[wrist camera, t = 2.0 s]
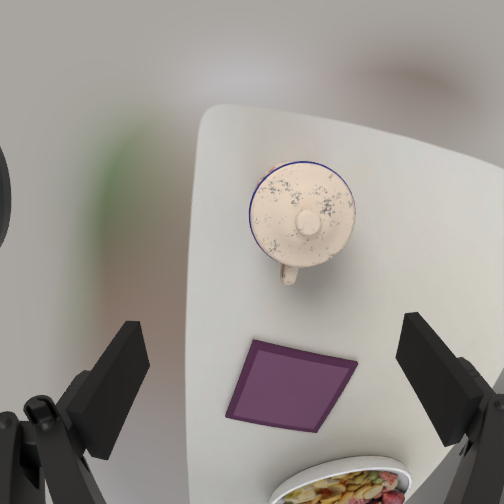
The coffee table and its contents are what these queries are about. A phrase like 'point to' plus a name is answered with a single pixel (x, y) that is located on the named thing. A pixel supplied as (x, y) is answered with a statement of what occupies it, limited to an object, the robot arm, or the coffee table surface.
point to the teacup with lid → (301, 215)
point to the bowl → (347, 483)
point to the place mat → (288, 387)
